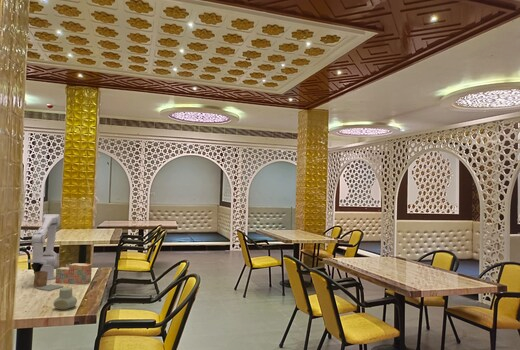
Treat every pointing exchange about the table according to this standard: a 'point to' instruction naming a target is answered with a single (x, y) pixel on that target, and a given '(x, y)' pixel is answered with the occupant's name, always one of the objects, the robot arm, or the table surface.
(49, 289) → the slate mat
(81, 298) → the table surface
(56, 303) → the air freshener
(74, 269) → the stack of blocks
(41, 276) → the walnut block
